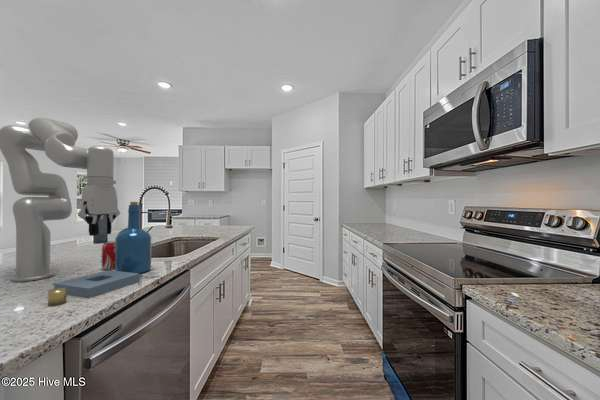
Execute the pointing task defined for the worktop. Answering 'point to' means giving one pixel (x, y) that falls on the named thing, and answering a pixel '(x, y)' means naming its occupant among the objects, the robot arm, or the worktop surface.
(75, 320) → the worktop surface
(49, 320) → the worktop surface
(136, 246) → the wine bottle
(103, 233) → the tall steel pin
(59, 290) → the short brass pin
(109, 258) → the soda can
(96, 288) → the sleeve block
